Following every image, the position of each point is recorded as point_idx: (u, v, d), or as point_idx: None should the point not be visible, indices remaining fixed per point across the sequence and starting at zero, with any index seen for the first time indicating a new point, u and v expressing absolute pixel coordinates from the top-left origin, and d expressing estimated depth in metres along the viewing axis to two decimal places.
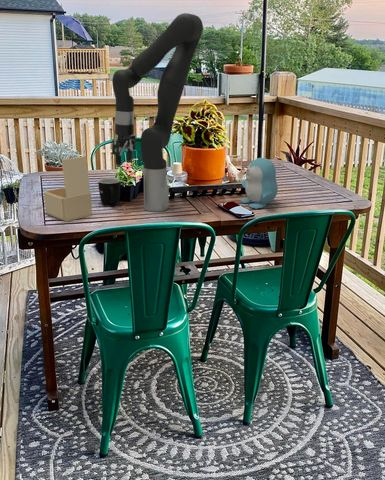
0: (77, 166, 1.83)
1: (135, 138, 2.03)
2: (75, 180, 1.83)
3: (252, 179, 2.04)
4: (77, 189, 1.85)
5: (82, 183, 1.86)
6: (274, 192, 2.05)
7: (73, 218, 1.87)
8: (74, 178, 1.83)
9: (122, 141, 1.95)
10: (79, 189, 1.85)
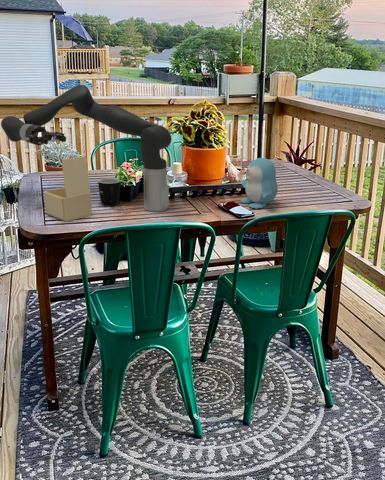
0: (77, 166, 1.83)
1: (58, 132, 1.97)
2: (75, 180, 1.83)
3: (252, 179, 2.04)
4: (77, 189, 1.85)
5: (82, 183, 1.86)
6: (274, 192, 2.05)
7: (73, 218, 1.87)
8: (74, 178, 1.83)
9: (35, 134, 1.90)
10: (79, 189, 1.85)
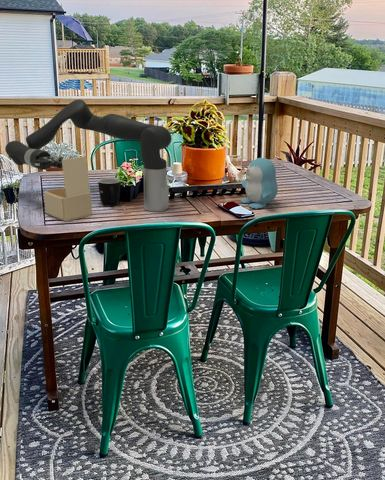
0: (77, 166, 1.83)
1: (62, 157, 1.97)
2: (75, 180, 1.83)
3: (252, 179, 2.04)
4: (77, 189, 1.85)
5: (82, 183, 1.86)
6: (274, 192, 2.05)
7: (73, 218, 1.87)
8: (74, 178, 1.83)
9: (42, 160, 1.92)
10: (79, 189, 1.85)
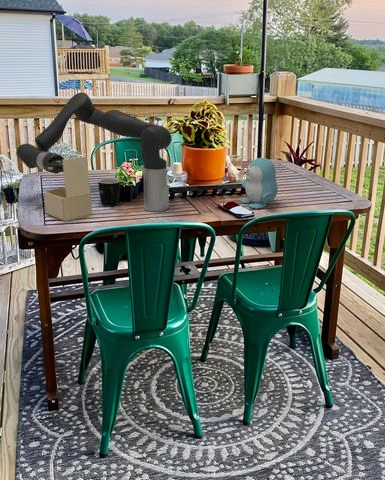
0: (78, 166, 1.83)
1: None
2: (75, 180, 1.83)
3: (252, 179, 2.04)
4: (77, 189, 1.85)
5: (82, 183, 1.86)
6: (274, 192, 2.05)
7: (73, 218, 1.87)
8: (74, 178, 1.83)
9: (55, 163, 1.86)
10: (79, 189, 1.85)
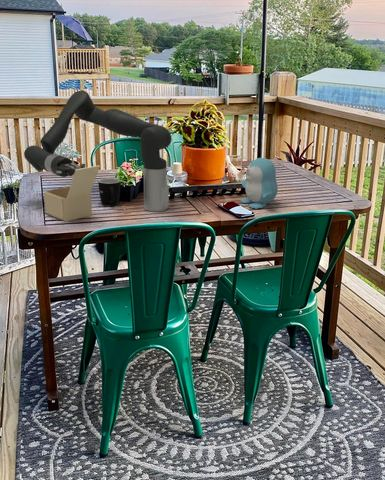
0: (88, 174, 1.80)
1: (84, 164, 1.88)
2: (81, 185, 1.82)
3: (252, 179, 2.04)
4: (79, 192, 1.84)
5: (86, 187, 1.85)
6: (274, 192, 2.05)
7: (73, 218, 1.87)
8: (81, 183, 1.81)
9: (63, 167, 1.83)
10: (81, 191, 1.85)
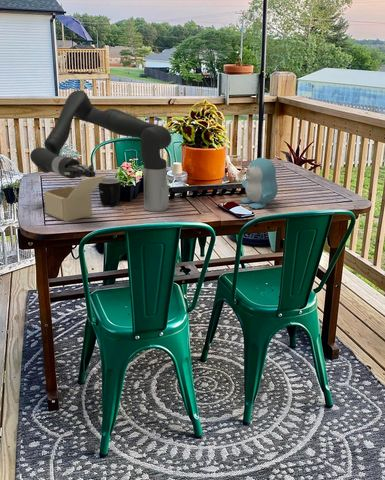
0: (92, 182, 1.79)
1: (92, 165, 1.84)
2: (83, 189, 1.81)
3: (252, 179, 2.04)
4: (80, 194, 1.84)
5: (88, 190, 1.84)
6: (274, 192, 2.05)
7: (73, 218, 1.87)
8: (83, 188, 1.81)
9: (71, 168, 1.79)
10: (82, 193, 1.85)
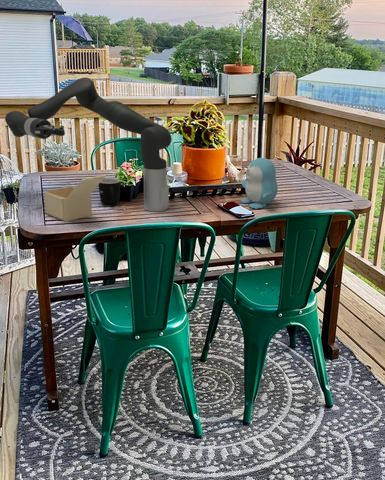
0: (92, 182, 1.79)
1: (63, 126, 1.91)
2: (83, 189, 1.81)
3: (252, 179, 2.04)
4: (80, 194, 1.84)
5: (88, 190, 1.84)
6: (274, 192, 2.05)
7: (73, 218, 1.87)
8: (83, 188, 1.81)
9: (42, 128, 1.86)
10: (82, 193, 1.85)
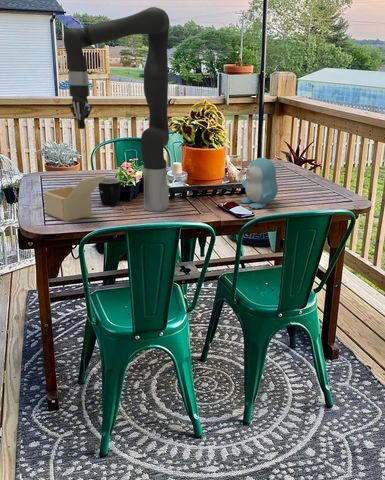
0: (92, 182, 1.79)
1: (86, 110, 1.91)
2: (83, 189, 1.81)
3: (252, 179, 2.04)
4: (80, 194, 1.84)
5: (88, 190, 1.84)
6: (274, 192, 2.05)
7: (73, 218, 1.87)
8: (83, 188, 1.81)
9: (73, 105, 1.96)
10: (82, 193, 1.85)
